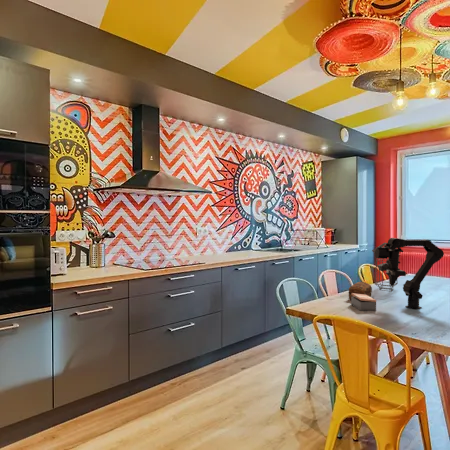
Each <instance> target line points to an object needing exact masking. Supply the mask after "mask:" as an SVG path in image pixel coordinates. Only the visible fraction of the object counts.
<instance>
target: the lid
mask: <svg viewBox="0 0 450 450" xmlns="http://www.w3.org/2000/svg"><path fill="white" fill-rule="evenodd" d="M351 295H353V296H354V297H356V298H358V299H359V300H362V301H371V302H376V303H377V299H375V298H373V297H372V296H371V297H369V296H367V295H364V294H355V293H352V294H351Z"/></svg>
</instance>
